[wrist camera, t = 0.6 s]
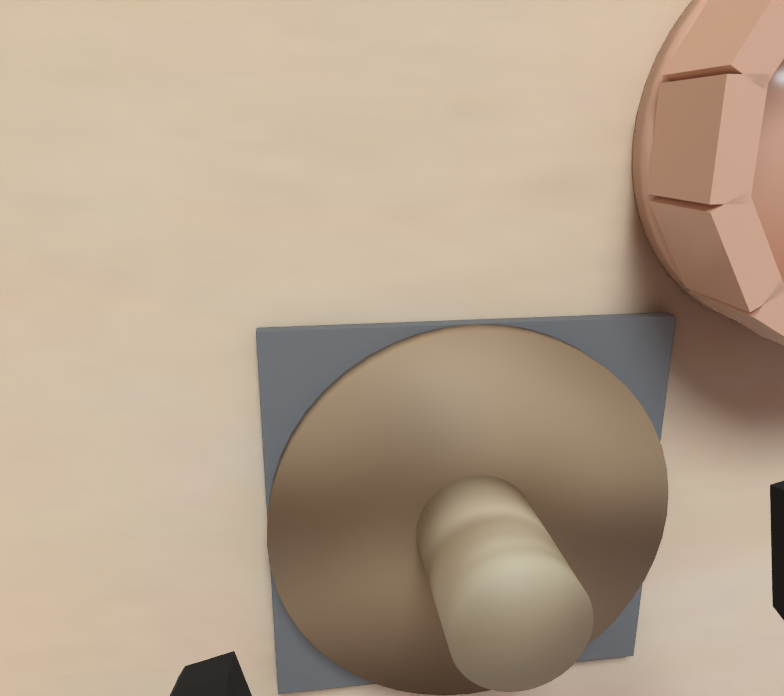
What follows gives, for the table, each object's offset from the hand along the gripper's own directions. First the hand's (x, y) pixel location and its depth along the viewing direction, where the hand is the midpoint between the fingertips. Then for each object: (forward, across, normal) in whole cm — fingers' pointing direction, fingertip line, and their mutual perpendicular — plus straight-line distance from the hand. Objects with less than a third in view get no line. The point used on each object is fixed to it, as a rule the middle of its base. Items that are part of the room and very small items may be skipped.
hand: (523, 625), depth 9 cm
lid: (+9, -1, +5) cm, 10 cm away
